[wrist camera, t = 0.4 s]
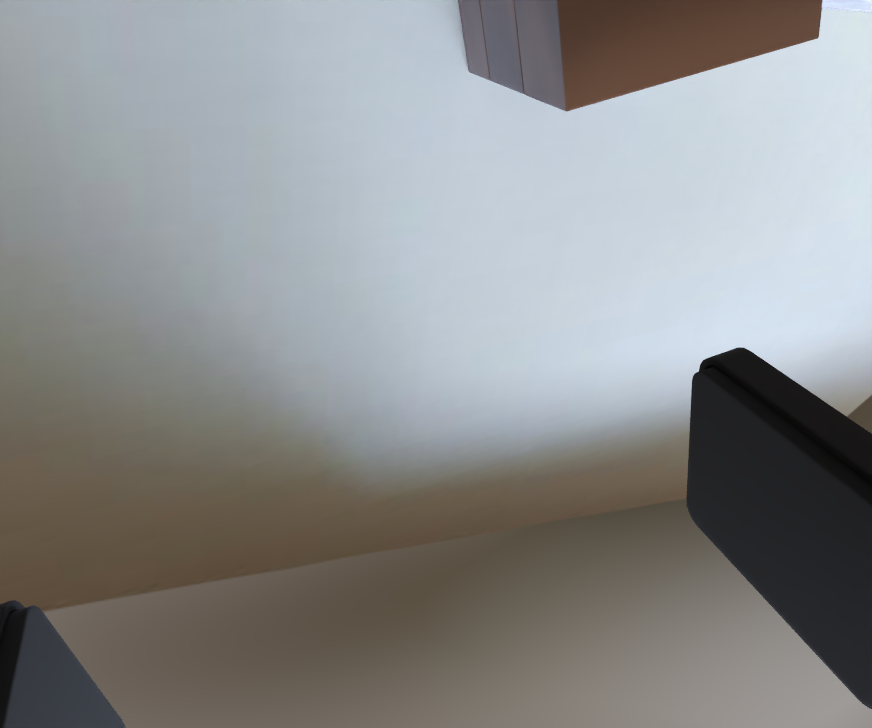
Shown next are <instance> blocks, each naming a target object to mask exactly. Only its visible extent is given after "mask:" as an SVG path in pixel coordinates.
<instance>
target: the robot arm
mask: <svg viewBox="0 0 872 728" xmlns="http://www.w3.org/2000/svg"><path fill="white" fill-rule="evenodd" d="M687 507H688V510H689V513H690V515H691V517H692V519H693V521H694V522H695V524H696V525H697V526H698V527H699V528H700V529H701V530H702V531H703V533H704V534H705V535H706V536H707V537H708V538H709V539H710V540H711V541H712V542H713V543H714V545H715V546H716V547H717V548H718V549H719V550H720V551H721V552H722V553H723V554H724V555H725V556H726V557H727V558H728V560H729V561H731V563H732V564H733V565H734V566H735V567H736V568H737V569H738V570H739V571H740V573H741V574H742V575H743V576H744V577H745V578H746V579H747V580H748V581H749V582H750V583H751V584H752V585H753V587H755V589H756V590H757V591H758V592H759V593H760V594H761V595H762V596H763V597H764V598H765V600H766V601H767V602H768V603H769V604H770V605H771V606H772V607H773V608H774V609H775V610H776V611H777V612H778V614H779V615H780V616H782V618H783V619H784V620H785V621H786V622H787V623H788V624H789V625H790V626H791V628H792V629H793V630H795V632H796V633H797V634H798V635H799V636H800V637H801V638H802V639H803V640H804V642H805V643H806V644H807V645H808V646H809V647H810V648H811V649H812V650H813V651H814V652H815V653H816V655H818V657H819V658H820V659H821V660H822V661H823V662H824V663H825V664H826V665H827V666H828V667H829V668H830V670H832V672H833V673H834V674H835V675H836V676H837V677H838V678H839V679H840V680H841V681H842V683H843V684H844V685H845V686H846V687H847V688H848V689H849V690H850V691H851V692H852V693H853V694H854V695H855V696H856V698H857V699H858V700H860V701H861V702H862V703H863V704H864V705H865V706H867V707H869V708H871V709H872V434H871V433H870V432H868V431H867V430H865V429H864V428H862V427H861V426H859V425H858V424H856V423H855V422H853V421H852V420H850V419H849V418H848V417H846V416H845V415H843V414H842V413H840V412H839V411H837V410H836V409H834V408H833V407H831V406H830V405H828V404H827V403H826V402H824V401H823V400H821V399H820V398H818V397H817V396H815V395H814V394H812V393H811V392H809V391H808V390H807V389H805V388H804V387H802V386H801V385H799V384H798V383H796V382H795V381H793V380H792V379H790V378H789V377H787V376H786V375H785V374H783V373H782V372H780V371H779V370H777V369H776V368H774V367H773V366H771V365H770V364H768V363H767V362H765V361H764V360H763V359H761V358H760V357H758V356H757V355H755V354H754V353H752V352H751V351H749V350H747V349H745V348H736V349H733V350H730V351H727V352H724V353H721V354H718V355H715V356H713V357H710V358H707V359H705V360H703V361H702V363H701V365H700V369H699V372H697V373H695V374H694V376H693V380H692V396H691V417H690V438H689V460H688V481H687ZM0 728H126V727H125V725H124V723H123V721H122V719H121V718H120V717H119V715H118V714H117V713H116V711H115V710H114V708H113V707H112V706H111V704H110V703H109V702H108V700H107V699H106V698H105V696H104V695H103V693H102V692H101V691H100V689H99V688H98V687H97V685H96V684H95V683H94V681H93V680H92V679H91V677H90V676H89V674H88V673H87V672H86V670H85V669H84V668H83V666H82V665H81V664H80V662H79V661H78V659H77V658H76V657H75V655H74V654H73V653H72V651H71V650H70V649H69V647H68V646H67V644H66V643H65V642H64V640H63V639H62V638H61V636H60V635H59V634H58V632H57V631H56V629H55V628H54V627H53V625H52V624H51V623H50V621H49V620H48V619H47V617H46V616H45V614H44V613H43V612H42V611H41V610H40V608H39V607H37V606H30V607H27V608H25V607H24V606H23V605H22V604H21V603H20V602H17V601H15V600H14V601H9V602H6V603H3V604H0Z"/></svg>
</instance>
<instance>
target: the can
mask: <svg viewBox="0 0 872 728" xmlns="http://www.w3.org/2000/svg"><path fill="white" fill-rule="evenodd" d="M822 8H825V9H836V10H848V11H859V12H870V13H872V0H822Z"/></svg>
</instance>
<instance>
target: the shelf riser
mask: <svg viewBox="0 0 872 728" xmlns="http://www.w3.org/2000/svg"><path fill="white" fill-rule="evenodd" d="M458 1H459V8H460V14H461V21H462V28H463V34H464V41H465V47H466V54H467V61H468V67H469V72H470V73H473V74H475V75H478V76H480V77H483V78H485V79H488V80H491V81H493V82H495V83H498V84H500V85H503V86H505V87H508V88H510V89H513V90H515V91H518V92H520V93H523V94H525V95H527V96H529V97H532V98H534V99H537V100H539V101H542V102H544V103H547V104H549V105H552V106H554V107H557V108H559V109H562V110H564V111H570V110H573V109H577V108H580V107H584V106H587V105H590V104H594V103H597V102H601V101H604V100H608V99H611V98H614V97H618V96H621V95H625V94H628V93H632V92H635V91H638V90H642V89H645V88H649V87H652V86H656V85H659V84H662V83H666V82H669V81H673V80H676V79H680V78H683V77H687V76H690V75H693V74H697V73H700V72H704V71H707V70H711V69H714V68H717V67H721V66H724V65H728V64H731V63H735V62H738V61H741V60H745V59H748V58H752V57H755V56H759V55H762V54H765V53H769V52H772V51H776V50H779V49H783V48H786V47H789V46H793V45H796V44H800V43H803V42H807V41H810V40H813V39H817V38H818V37H819V28H820V19H821V9H822V0H458Z"/></svg>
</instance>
